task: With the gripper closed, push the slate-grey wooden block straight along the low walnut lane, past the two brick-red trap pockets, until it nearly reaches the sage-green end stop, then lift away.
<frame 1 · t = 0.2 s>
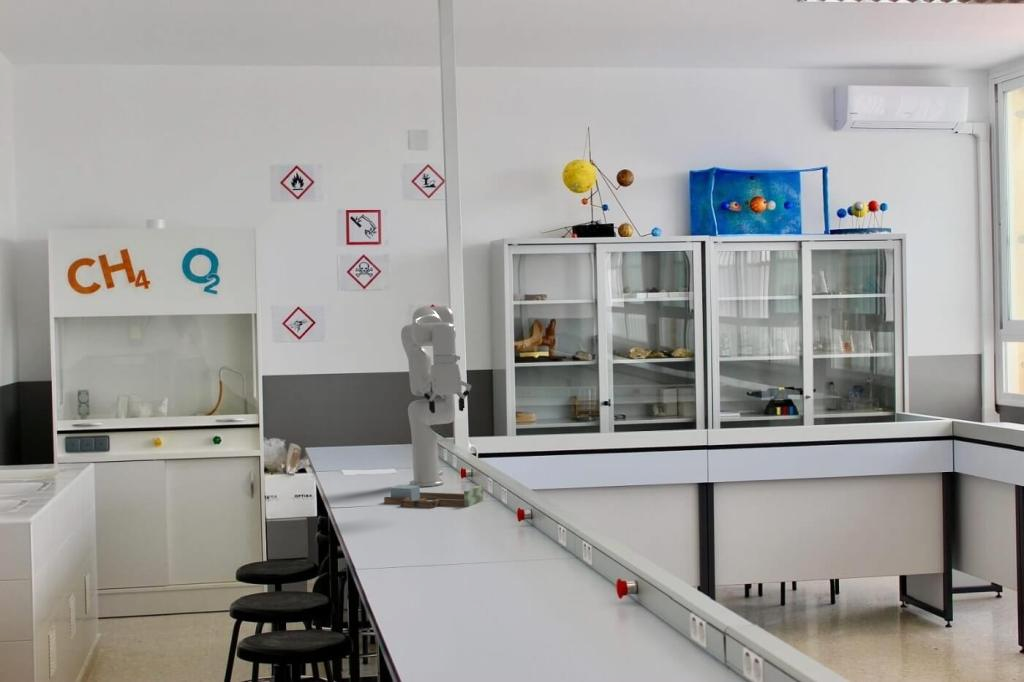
hand: (447, 411, 367), 31 cm above the table, fingers open, 9 cm apart
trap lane: (431, 501, 373), on the table
slate block: (405, 501, 377), resting in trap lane
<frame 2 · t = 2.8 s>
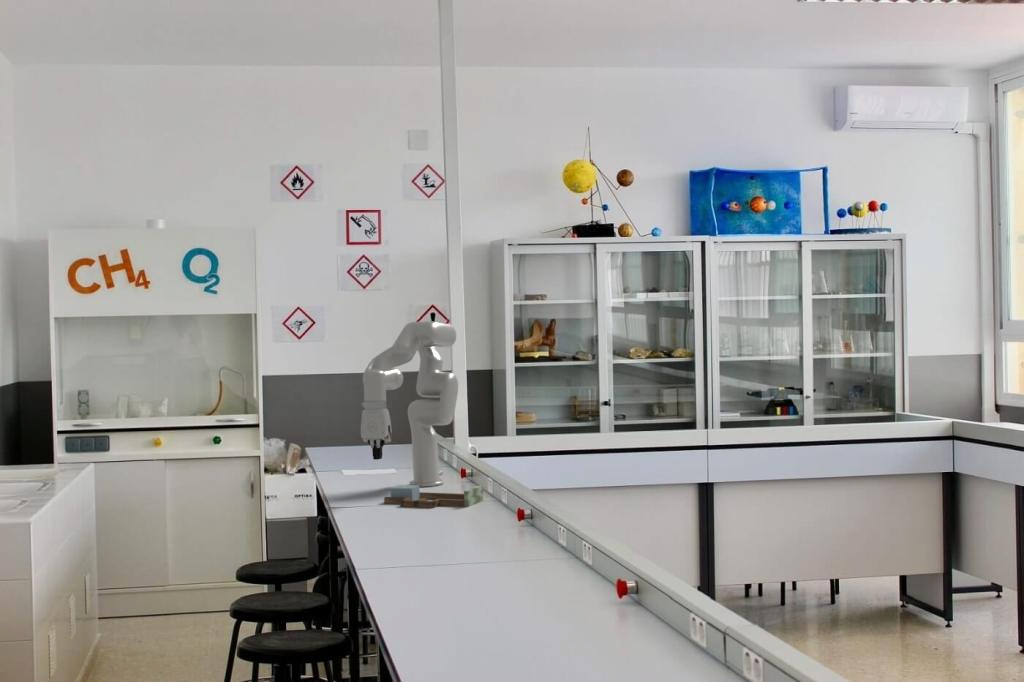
hand: (377, 458, 380), 14 cm above the table, fingers closed
nothing on the table moved.
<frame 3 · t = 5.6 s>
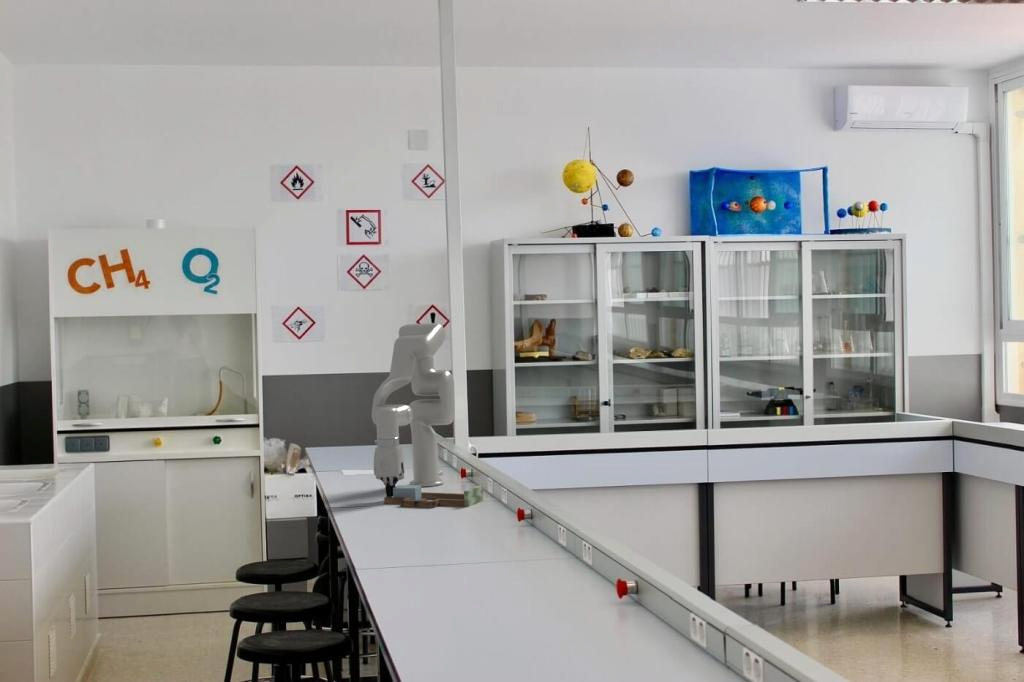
hand: (390, 496, 379), 1 cm above the table, fingers closed
slate block: (407, 501, 376), resting in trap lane, touching gripper
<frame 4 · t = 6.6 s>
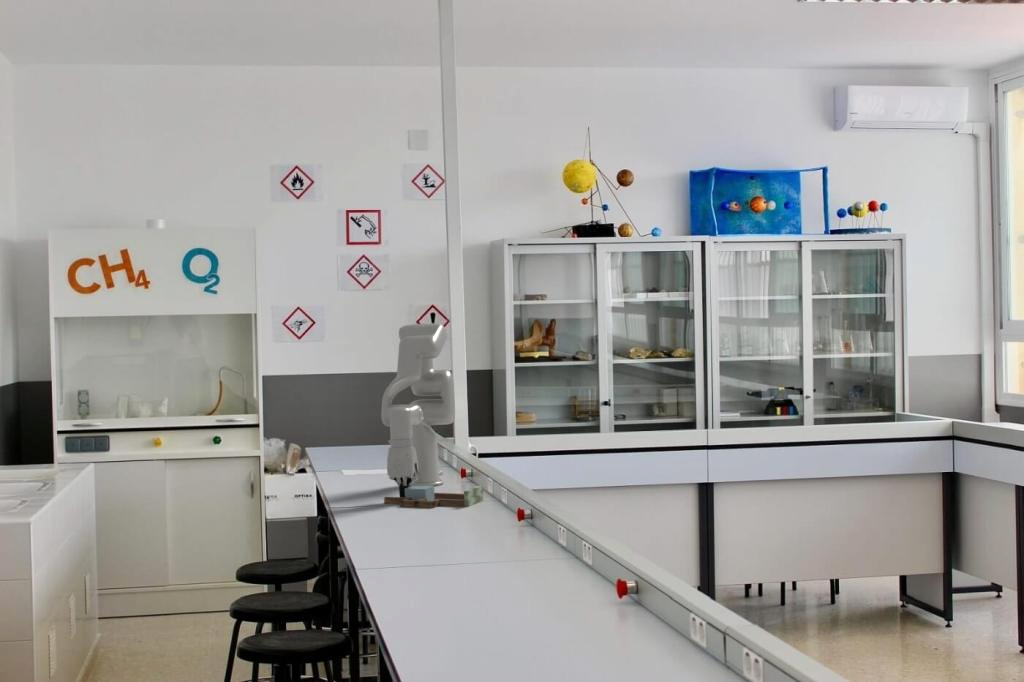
hand: (404, 496, 377), 1 cm above the table, fingers closed
slate block: (420, 502, 373), resting in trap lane, touching gripper
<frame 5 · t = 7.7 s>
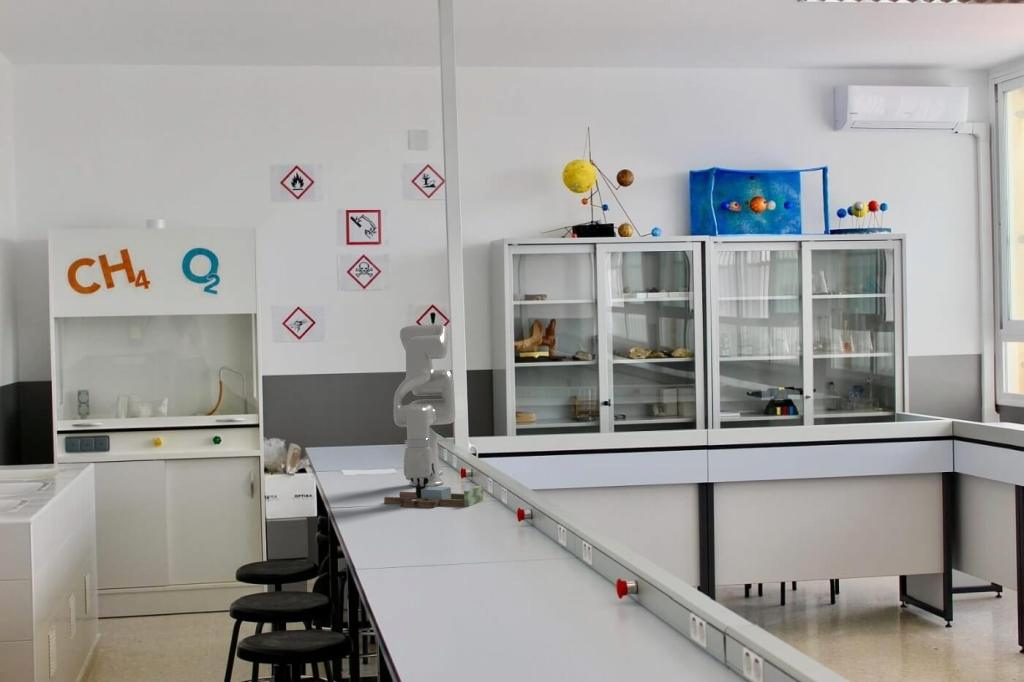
hand: (421, 497, 374), 1 cm above the table, fingers closed
slate block: (436, 503, 370), resting in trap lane
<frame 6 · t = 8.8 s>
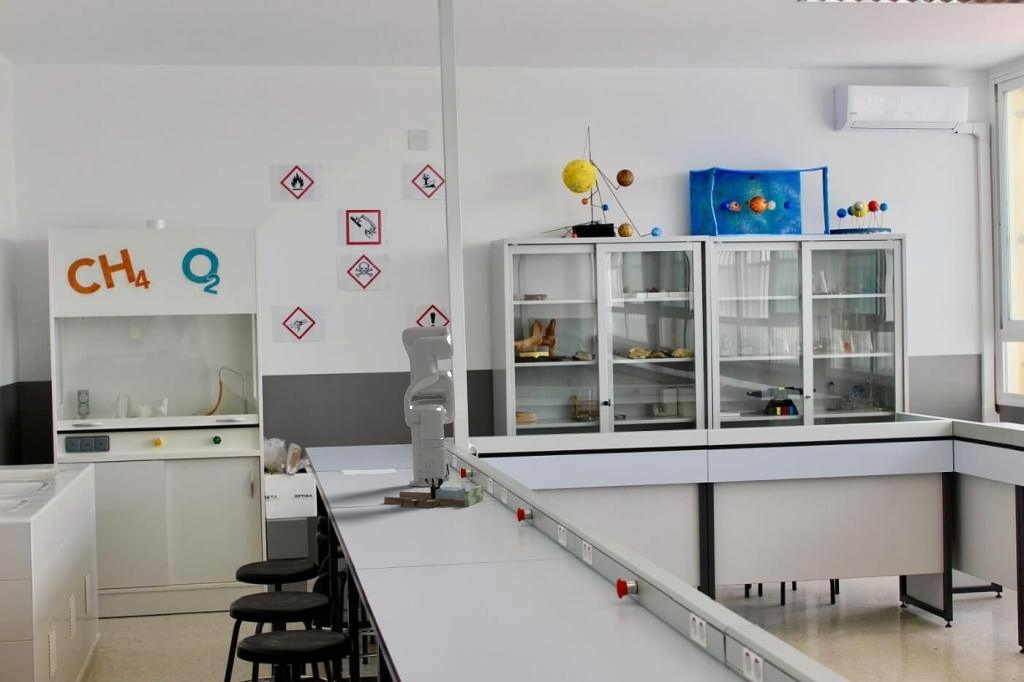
hand: (435, 498, 372), 1 cm above the table, fingers closed
slate block: (451, 503, 368), resting in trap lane
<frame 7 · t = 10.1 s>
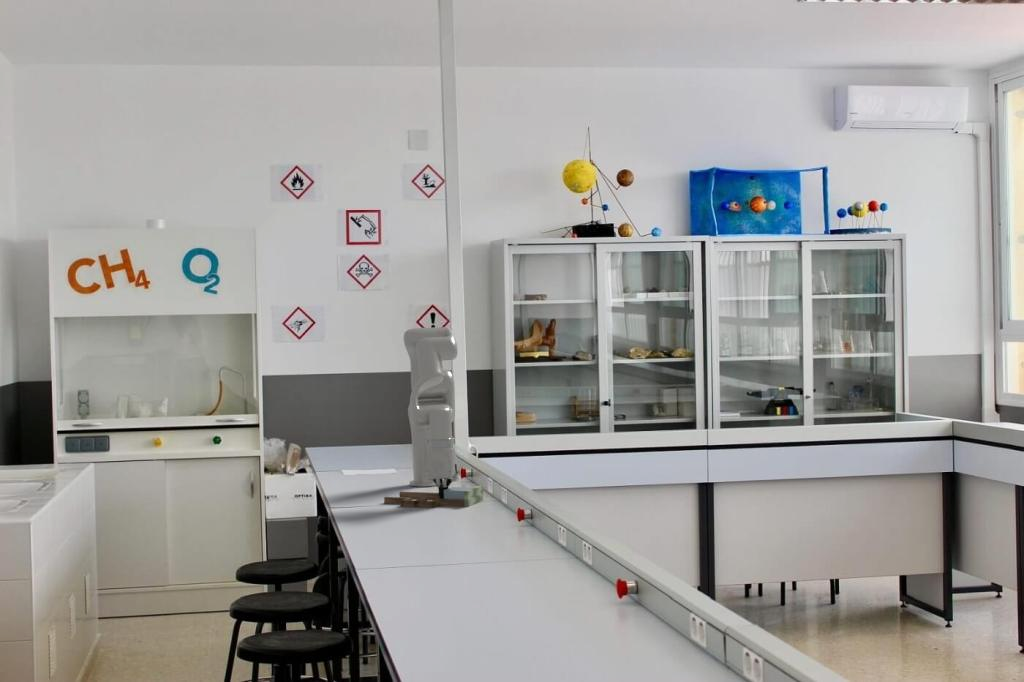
hand: (443, 498, 370), 1 cm above the table, fingers closed
slate block: (459, 504, 367), resting in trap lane, touching gripper
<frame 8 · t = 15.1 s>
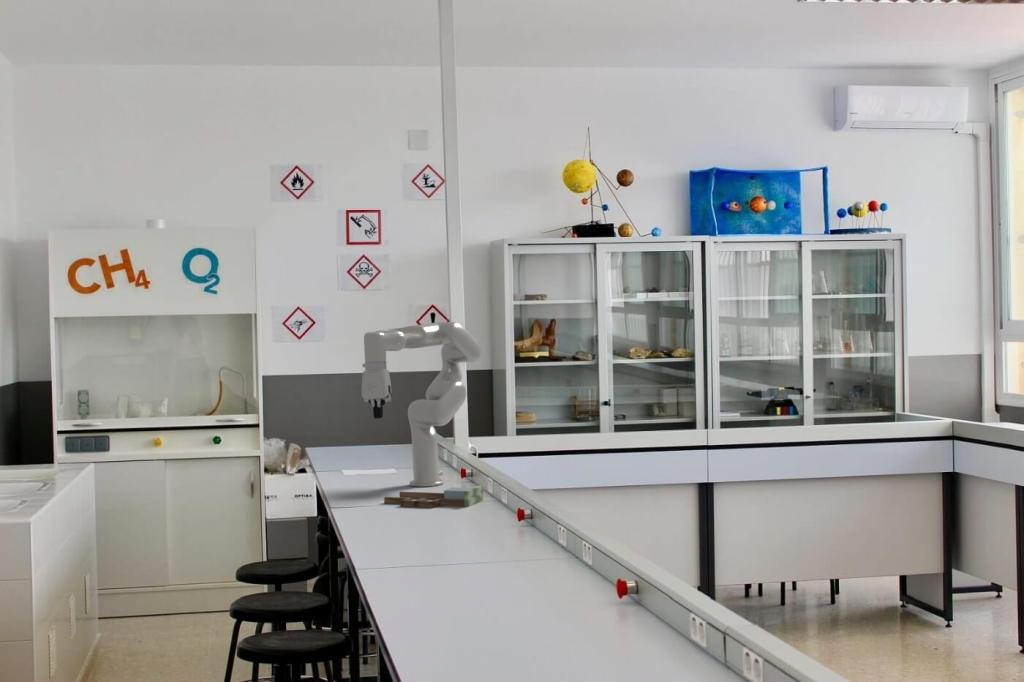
hand: (378, 418, 392), 27 cm above the table, fingers closed
slate block: (459, 504, 367), resting in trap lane
at the end: slate block inside the target area (1.5 cm from its centre), resting in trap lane; slate block tilted 0° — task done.
